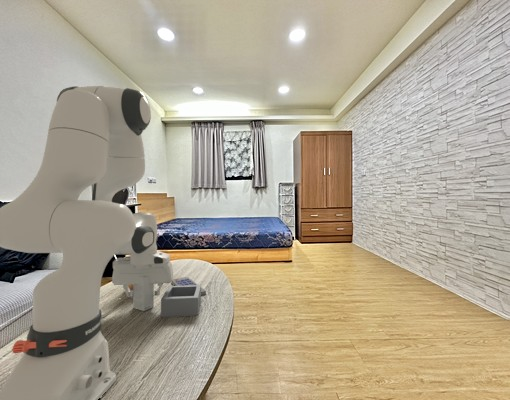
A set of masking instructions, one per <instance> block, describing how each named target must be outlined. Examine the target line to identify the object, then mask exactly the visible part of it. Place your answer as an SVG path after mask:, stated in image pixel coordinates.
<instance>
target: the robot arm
mask: <svg viewBox="0 0 510 400" xmlns="http://www.w3.org/2000/svg"><path fill="white" fill-rule="evenodd" d="M151 112H152V111H151V106H150V102H149V99H148V98H147V96H146V95H145V94H144V93H143V92H142V91H140V90H137V89H133V88H130V87H129V88H128V87H127V88H121V87H113V86H103V85H92V86H89V85H88V86H69V87H66V88H63V89H61V90H60V92H59V94H58V95H57V98H56V103H55V105H54V108H53V111H52V114H51V117H50V122H49V126H48V129H47V130H48V131H47V138H46V143H45V148H44V153H43V157H42V162H41V165H40V168H39V170H38V172H37V174H36V175H35V177H34V179H32V181H31V183H30V184H29V185H28V187H26V189H25V190H24V191H23V192H21V193H20V195H18V196H17V197H16V198H15V199H13V200H12V201H10V202H8V203H6V204H4V205H3V206H2V205H1V207H0V248H1V249H5V250H9V251H10V250H11V251H15V252H22V253H27V254H54V253H55V254H56V253H57V254H59V253H61V254H62V261H61V265H60V267H59V268H58V269H57V270H54V271H52V272H50V273H48V274H47V275H46V276H44V277H43V278H41V279H40V280H39V281H38V282H37V284H36V285H35V287H34V288H33V291H32V324H31V325H30V327H29V331H28V333H27V335H26V340H23V339H22V340H17V341H16V342H14V344H13V346H12V348H11V351H12V353H13V354H20V353H23V354H22V356H21V357H20V359H19V361H18V362H17V364H16V365H15V366H14V368H13V369H12V371H11V372H10V374H9V375H8V376H7V379H6V380H5V382H4V383H3V384H2V387H1V388H0V400H98V399H99V398H100V397H101V396H102V395H103V394H104V393H105V392H106V393H107V391H109V389H110V388H111V387H112V386H113V384H114V383H115V382H116V380H117V375H116V373H115V372H114V371H112V370H111V367H110V356H109V355H110V354H109V353H110V352H109V343H108V341H107V339H106V337H104V335H103V333H102V331H101V330H102V326H103V324H102V323H103V322H102V321H103V315H102V310H101V309H100V298H101V297H100V296H101V284H102V279H103V274H104V272H105V269H106V267H107V265H108V263H109V262H110V261H111V260H112V258H113V257H114V256H115V255H130V258H125V257H117V258H116V259H114V260H113V261H112V269H113V271H112V276H111V277H112V278H111V283H112V285H114V286H122V288H123V290H124V292H125V291H126V292H127V293H126V298H127V297H129V298H130V297H131V298H132V296H133V290H130V289H129V287H128V286H129V285H132V284H139V276H149V284H154V285H155V284H156V285H157V287H158V288H157V289H154V297H156V296H158V297H159V296H160V294H161V288H162V287H163V285H164V284H170V283H172V280H173V279H174V267H173V264H172V262H171V261H170V259H171V255H170V254H169V253H165V252H163V251H160V250H158V245H157V239H158V224H157V218H156V215H155V214H154V213H150V212H135V213H133V212H132V210H131V209H130V207H128V206H127V205H126V204H123V203H118V202H114V201H113V198H114V196H115V194H117V193H118V192H120V191H123V190H124V189H127V188H130V187H132V186H134V185H136V184H138V182H140V181H141V180H142V179H143V177H144V175H145V171H146V161H145V159H146V158H145V157H146V156H145V148H144V142H143V138H142V134H143V132H144V131H145V130H146V129H147V128H148V126H149V124H150V122H151V116H152V113H151ZM92 185H93V187H92V197H91V199H88V200H87V199H86V200H85V199H79V198H80V196H81V195H82V194H83V192H84V191H85V190H86V189H88V188H89V187H91V186H92ZM106 393H105V394H106ZM105 394H104V395H105ZM104 395H103V396H104ZM103 396H102V397H103ZM102 397H101V398H102Z"/></svg>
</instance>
